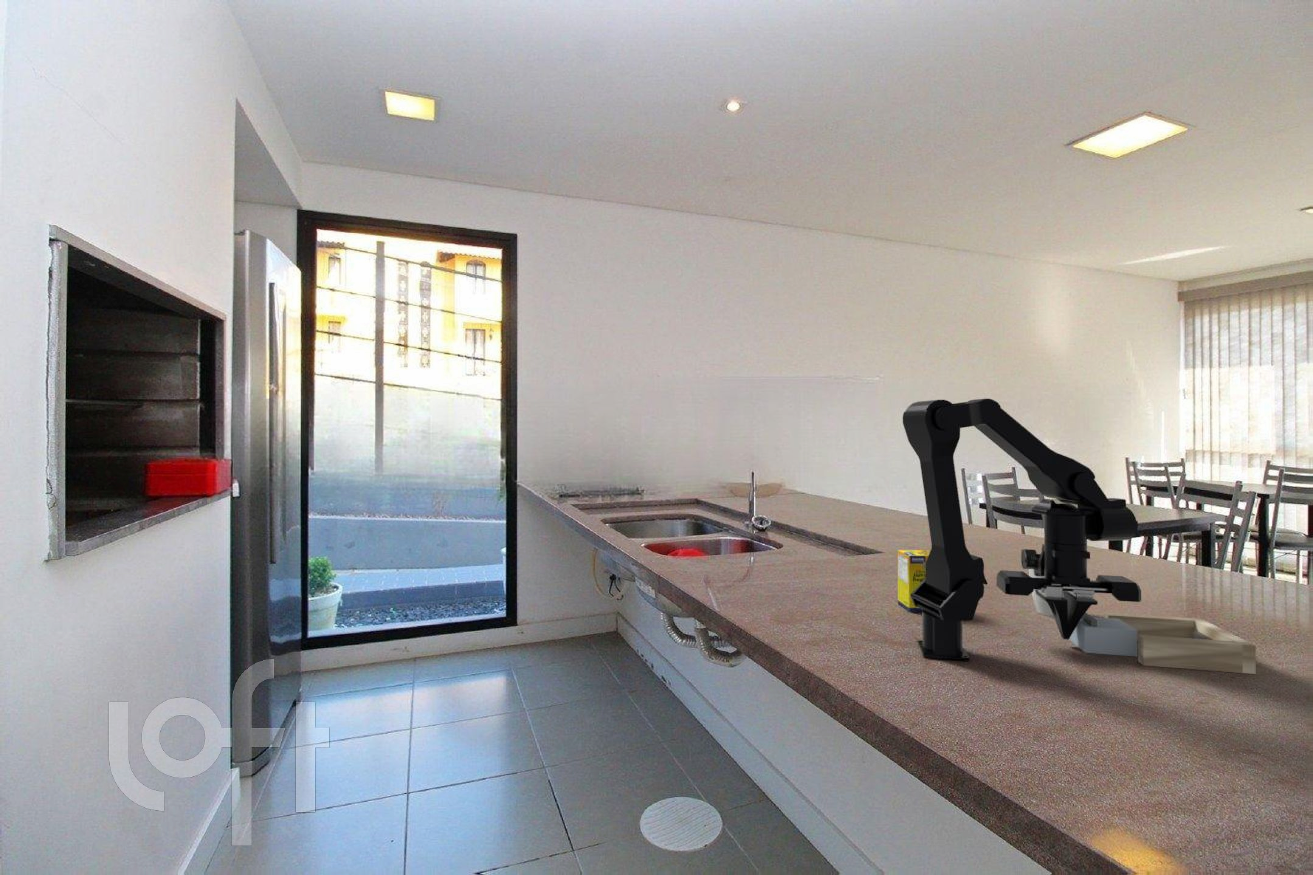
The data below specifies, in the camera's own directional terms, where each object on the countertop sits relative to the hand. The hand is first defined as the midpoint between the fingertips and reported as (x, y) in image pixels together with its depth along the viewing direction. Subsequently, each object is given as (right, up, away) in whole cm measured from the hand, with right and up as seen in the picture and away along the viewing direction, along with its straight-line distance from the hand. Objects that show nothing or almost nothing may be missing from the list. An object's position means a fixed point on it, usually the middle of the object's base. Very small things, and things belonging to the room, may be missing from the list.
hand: (1065, 638), depth 98 cm
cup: (+9, -1, +17) cm, 19 cm away
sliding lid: (+5, -1, -1) cm, 5 cm away
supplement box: (-14, -1, +21) cm, 26 cm away
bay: (+13, -1, -4) cm, 14 cm away
